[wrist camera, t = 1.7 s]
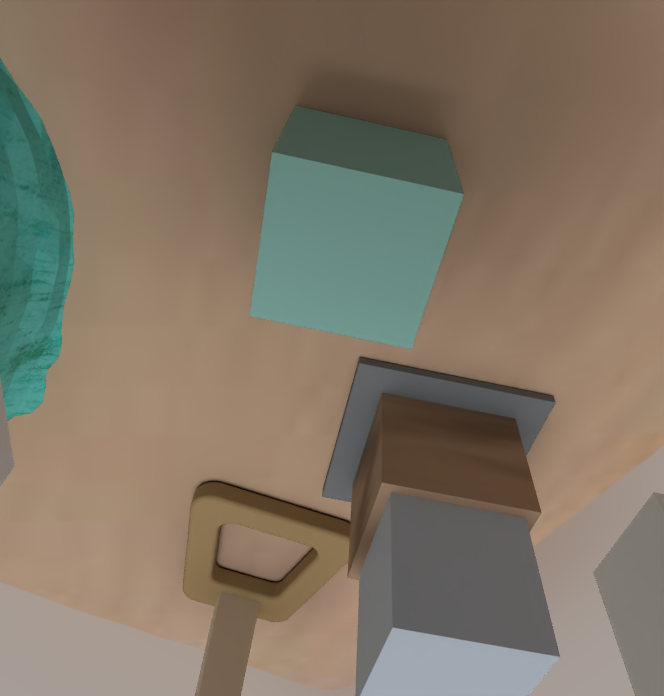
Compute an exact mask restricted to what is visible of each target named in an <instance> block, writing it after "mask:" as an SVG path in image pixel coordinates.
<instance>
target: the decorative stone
mask: <svg viewBox="0 0 664 696" xmlns="http://www.w3.org/2000/svg"><path fill="white" fill-rule="evenodd" d="M73 224H74V212H73V206H72V201H71V196H70V192H69V189H68V186H67V184H66V182H65V179H64V177H63V174H62V171H61V167H60V164H59V162H58V159H57V156H56V154H55V151H54V148H53V146H52V143H51V141H50V139H49V136H48V134H47V132H46V129H45V127H44V124H43V122H42V120H41V118H40V116H39V115H38V113H37V112H36V110H35V109H34V107H33V106H32V105H31V103H30V102H29V101H28V99H27V98H26V97H25V95H24V94H23V93H22V92H21V90H20V89H19V88H18V86H17V85H16V84H15V82H14V81H13V79H12V78H11V76H10V74H9V72H8V71H7V69H6V67H5V66H4V64H3V62H2V60H1V59H0V380H1V386H2V392H3V398H4V405H5V411H6V417H7V421H8V420H10V419H11V418H13V417H14V416H17V415H23V414H30V413H31V412H32V411H33V410H35V409H36V408H37V407H38V406H39V405H40V404H42V401H43V396H44V392H45V388H46V373H47V370H48V369H49V368H50V367H51V365H52V364H53V363H54V362H55V361H56V360H57V359H58V357H59V353H60V349H61V344H62V335H61V328H62V315H63V309H64V303H65V299H66V296H67V293H68V289H69V285H70V282H71V277H72V271H73V265H74V253H73V237H72V236H73Z"/></svg>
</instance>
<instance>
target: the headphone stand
mask: <svg viewBox="0 0 664 696" xmlns="http://www.w3.org/2000/svg"><path fill="white" fill-rule="evenodd" d="M227 523H234V524H238V525H241V526H245V527H248V528H251V529H255V530H258V531H261V532H265V533H268V534H271V535H275V536H278V537H282V538H285V539H288V540H292V541H295V542H298V543H302V544H305V545H308V546H311V547H313V550H312V551H311V552H310V553H309V554H308V555H307V556H306V557H305V558H304V559H303V560H302V561H301V562H300V563H299V564H298V565H297V566H296V567H295V568H294V569H293V570H292V571H291V572H290V573H289V574H288V575H287V576H286V578H285V579H284V580H283V581H281V582H276V583H275V582H269V581H265V580H262V579H258V578H255V577H251V576H248V575H244V574H241V573H237V572H234V571H230V570H227V569H223V568H221V567H219V566H217V565H216V563H215V561H216V554H217V547H218V541H219V534H220V527H221V525H223V524H227ZM349 541H350V523H348V522H346V521H343V520H340V519H336V518H333V517H330V516H327V515H323V514H320V513H317V512H314V511H310V510H307V509H304V508H301V507H298V506H294V505H291V504H288V503H285V502H281V501H278V500H275V499H272V498H268V497H265V496H262V495H259V494H255V493H252V492H249V491H246V490H242V489H239V488H236V487H233V486H229V485H226V484H223V483H219V482H209V483H205V484H203V485H201V486H200V487H198V489H197V490H196V491H195V494H194V497H193V500H192V503H191V508H190V518H189V528H188V539H187V549H186V559H185V569H184V580H183V592H184V594H185V595H186V596H187V597H188V598H190V599H192V600H195V601H198V602H202V603H205V604H209V605H213V606H215V608H214V612H213V617H212V621H211V626H210V630H209V635H208V639H207V644H206V648H205V653H204V657H203V662H202V666H201V671H200V675H199V680H198V684H197V689H196V693H195V696H241V691H242V686H243V681H244V677H245V672H246V667H247V662H248V657H249V653H250V648H251V643H252V638H253V634H254V629H255V624H256V619H257V618H260V619H264V620H267V621H271V622H282V621H285V620H287V619H288V618H289V617H290V616H292V615H293V614H294V613H295V612H296V611H297V610H298V609H299V608H300V607H301V606H302V605H303V604H304V603H305V602H306V601H307V600H308V599H309V598H310V597H311V596H313V595H314V594H315V593H316V592H317V591H318V590H319V589H320V588H321V587H322V586H323V585H324V584H325V583H326V582H327V581H328V580H329V579H330V578H331V577H332V576H334V575H335V574H336V573H337V572H338V571H339V570H340V569H341V568H342V567H343V566H344V565H345V564H346V563H347V562H348V560H349Z"/></svg>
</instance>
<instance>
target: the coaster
mask: <svg viewBox="0 0 664 696" xmlns="http://www.w3.org/2000/svg"><path fill="white" fill-rule="evenodd" d="M382 392H383V393H388V394H393V395H398V396H403V397H408V398H414V399H419V400H424V401H429V402H434V403H439V404H444V405H449V406H454V407H459V408H464V409H469V410H474V411H479V412H484V413H489V414H494V415H499V416H505V417H510V418H515V419H516V422H517V426H518V430H519V433H520V437H521V440H522V444H523V448H524V451H525V455H527V454H528V452H529V450H530V448H531V446H532V444H533V443H534V441H535V439H536V437H537V435H538V434H539V432H540V430H541V428H542V426H543V425H544V423H545V421H546V419H547V417H548V415H549V414H550V412H551V410H552V408H553V406H554V405H555V403H556V402H555V399H554V397H553V396H550V395H545V394H540V393H536V392H531V391H526V390H521V389H516V388H511V387H506V386H501V385H496V384H491V383H486V382H481V381H476V380H471V379H466V378H461V377H456V376H451V375H446V374H441V373H436V372H431V371H426V370H421V369H416V368H411V367H406V366H401V365H396V364H391V363H386V362H381V361H376V360H371V359H366V358H361V357H360V358H359V362H358V365H357V369H356V373H355V376H354V380H353V383H352V387H351V391H350V394H349V398H348V401H347V405H346V409H345V412H344V416H343V419H342V423H341V427H340V430H339V434H338V437H337V441H336V445H335V448H334V452H333V455H332V459H331V462H330V466H329V470H328V473H327V477H326V480H325V484H324V488H323V493H322V497H327V498H332V499H338V500H343V501H348V502H352V486H353V481H354V478H355V475H356V472H357V469H358V466H359V463H360V460H361V456H362V453H363V450H364V447H365V444H366V441H367V438H368V434H369V431H370V428H371V425H372V422H373V419H374V416H375V413H376V409H377V406H378V403H379V400H380V397H381V394H382Z"/></svg>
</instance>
